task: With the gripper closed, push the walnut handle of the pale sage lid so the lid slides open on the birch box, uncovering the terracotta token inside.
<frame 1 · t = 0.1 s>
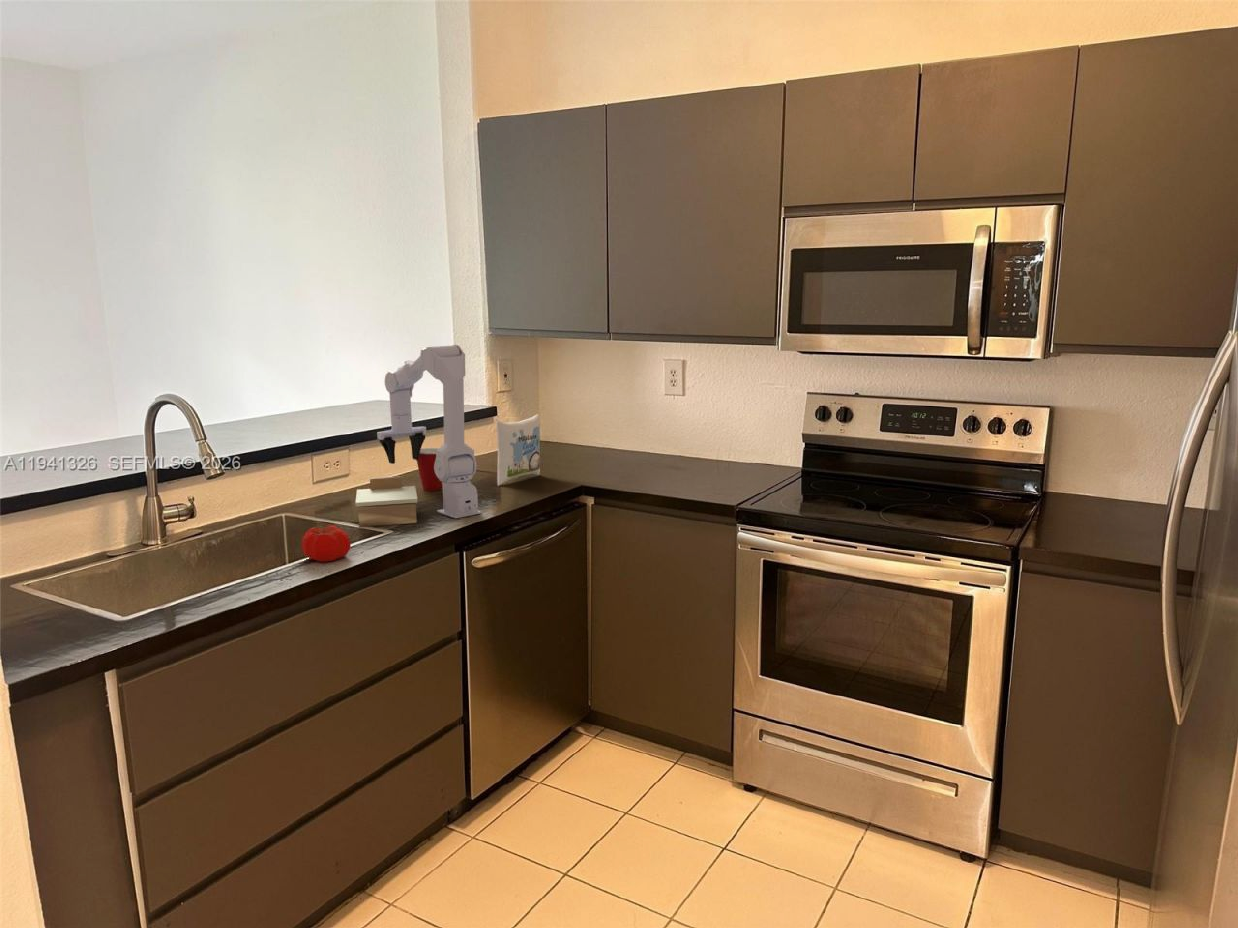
hand: (403, 461, 246), 10 cm above the worktop, tool pointing down, fingers open, 7 cm apart
lid: (386, 490, 222), point 7 cm above the worktop, slide at 0.0 cm
tomato: (326, 558, 191), on the worktop
pouch: (520, 481, 266), on the worktop
plastic cup: (433, 489, 257), on the worktop
storage box: (387, 517, 224), on the worktop
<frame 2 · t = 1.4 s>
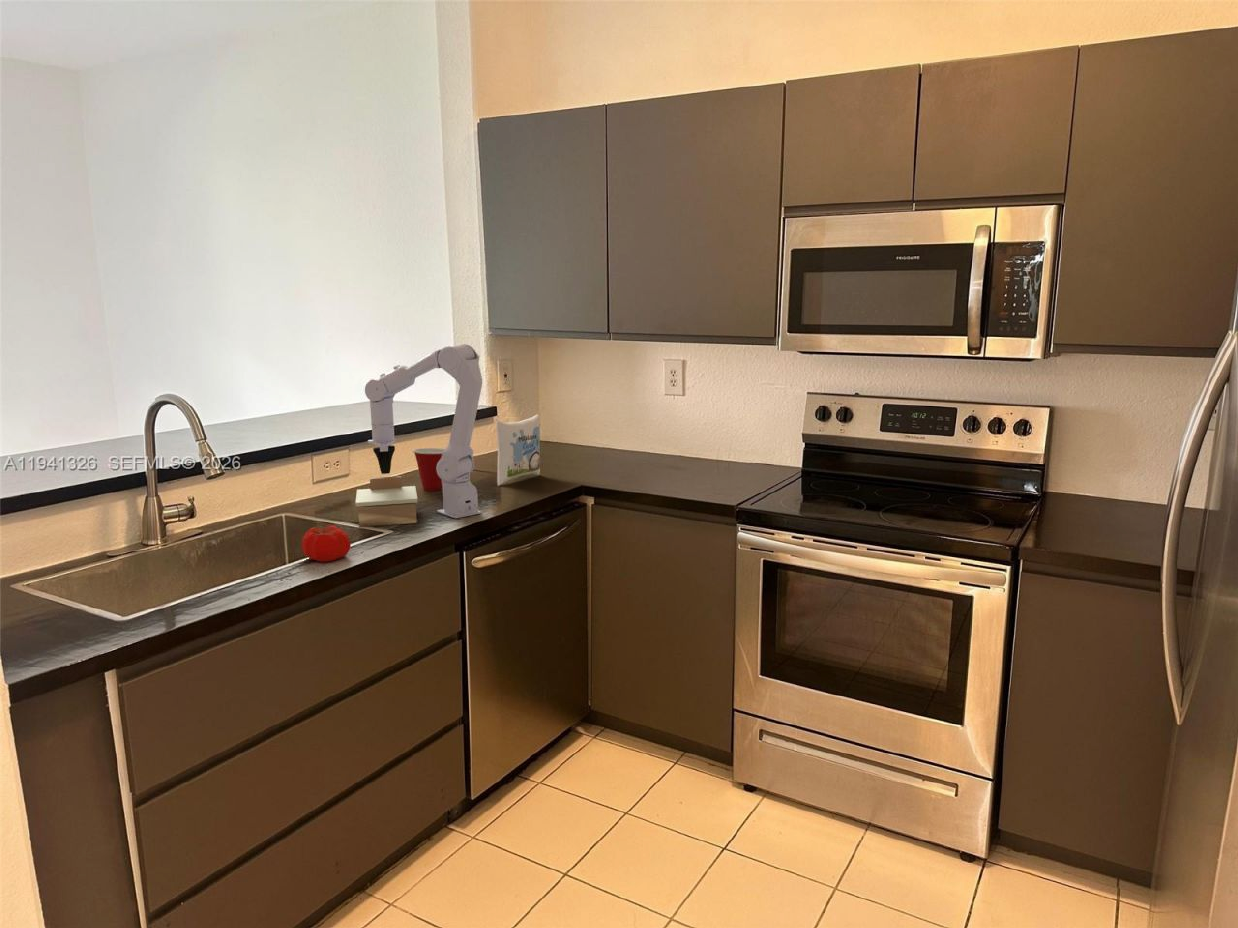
hand: (385, 473, 233), 9 cm above the worktop, tool pointing down, fingers closed
nothing on the worktop moved.
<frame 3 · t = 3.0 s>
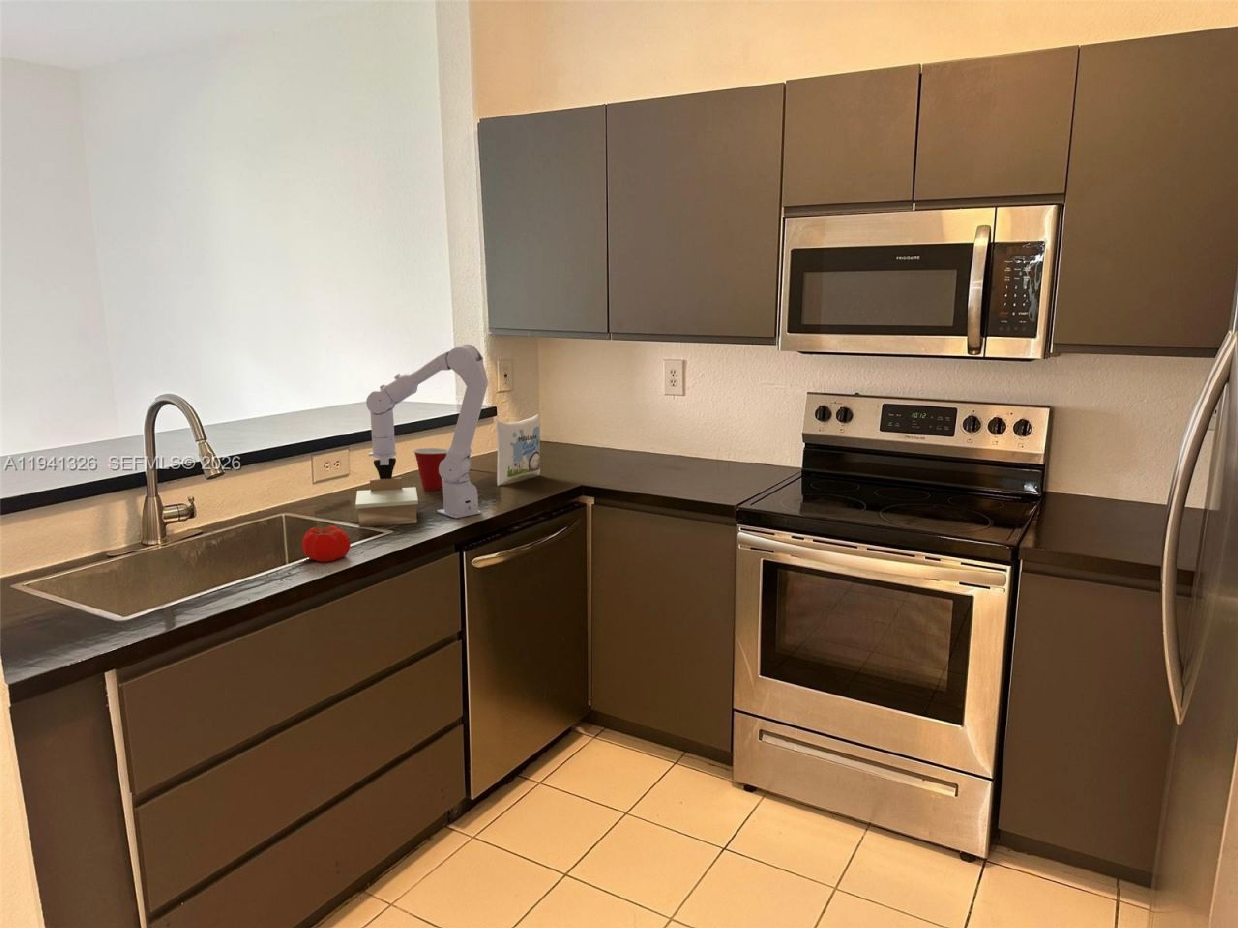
hand: (386, 486, 229), 7 cm above the worktop, tool pointing down, fingers closed
lid: (386, 491, 220), point 7 cm above the worktop, slide at 1.8 cm, touching gripper
everything else where it was.
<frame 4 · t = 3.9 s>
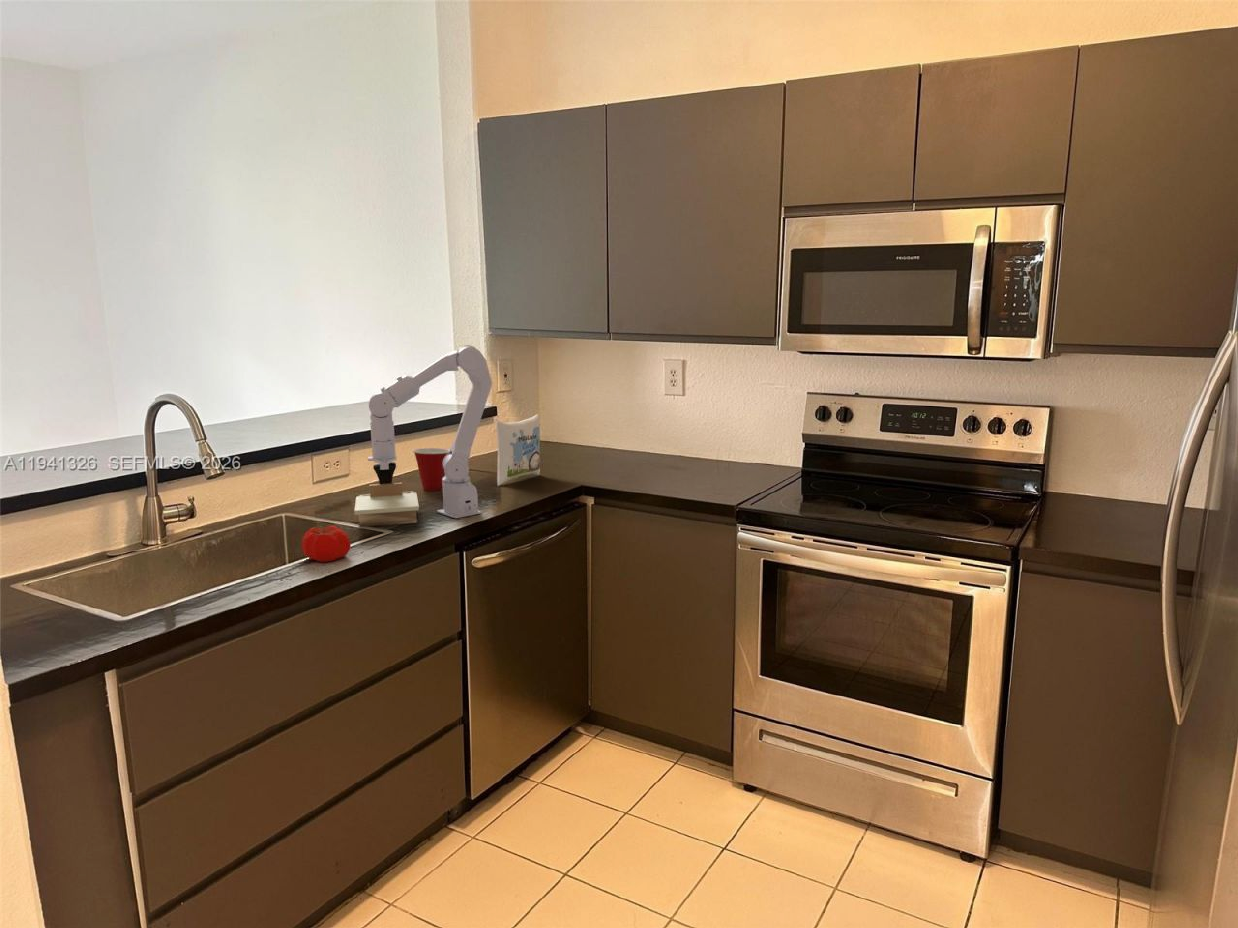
hand: (386, 491, 222), 7 cm above the worktop, tool pointing down, fingers closed
lid: (386, 497, 214), point 7 cm above the worktop, slide at 8.2 cm, touching gripper
everything else where it was.
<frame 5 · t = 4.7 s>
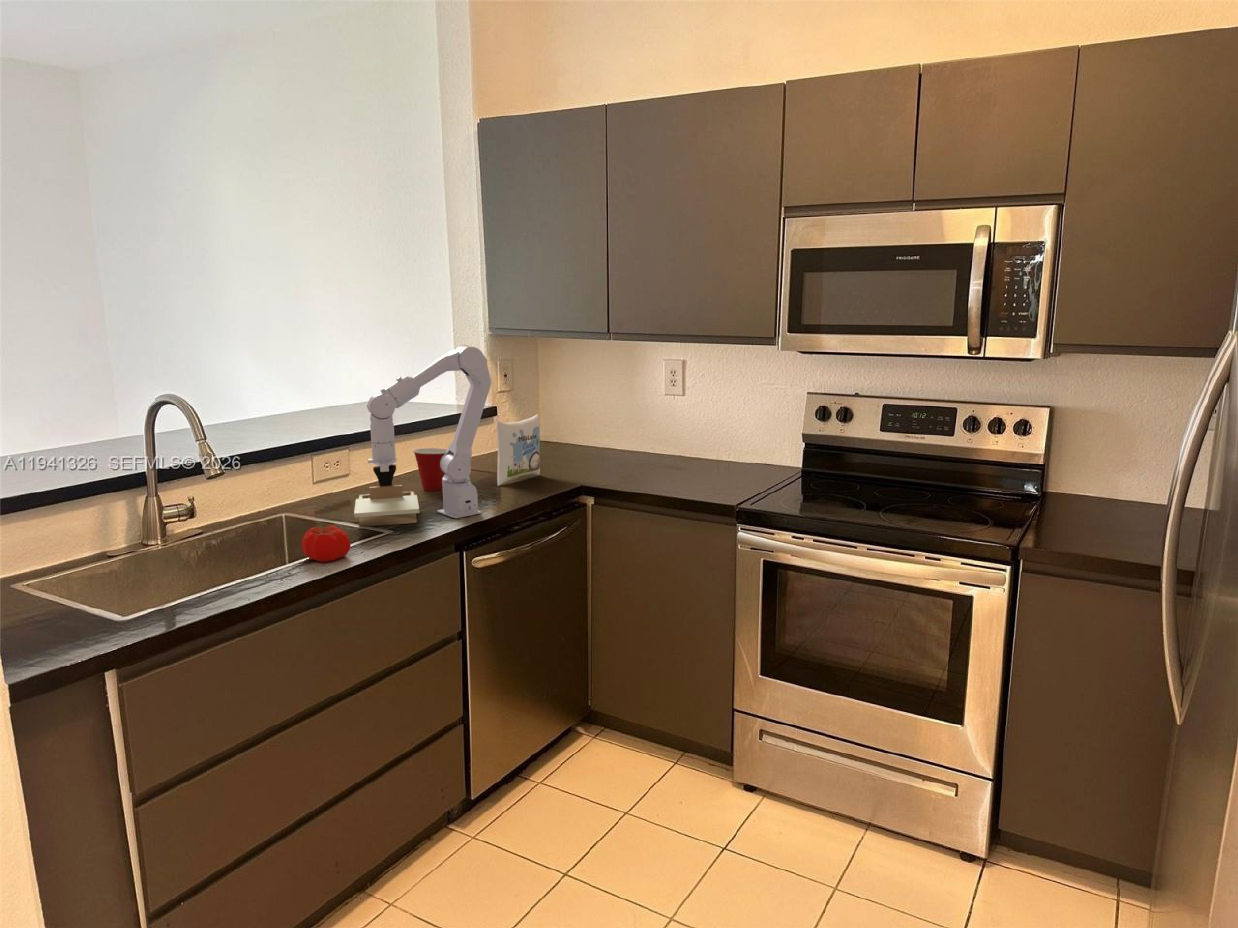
hand: (386, 494, 220), 7 cm above the worktop, tool pointing down, fingers closed
lid: (386, 499, 212), point 7 cm above the worktop, slide at 10.9 cm, touching gripper
everything else where it was.
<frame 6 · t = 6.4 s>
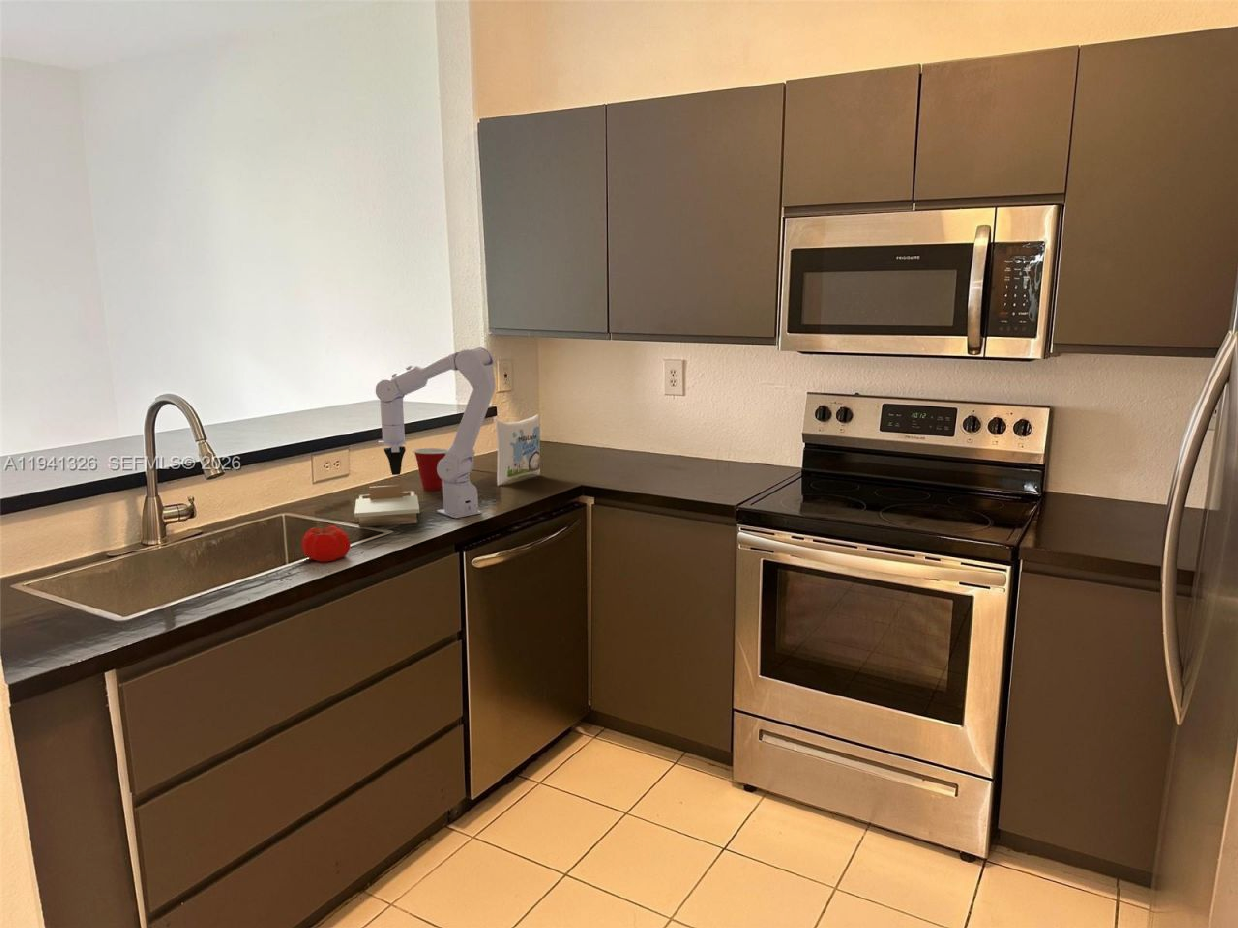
hand: (396, 474, 231), 10 cm above the worktop, tool pointing down, fingers closed
lid: (386, 499, 212), point 7 cm above the worktop, slide at 10.9 cm
everything else where it was.
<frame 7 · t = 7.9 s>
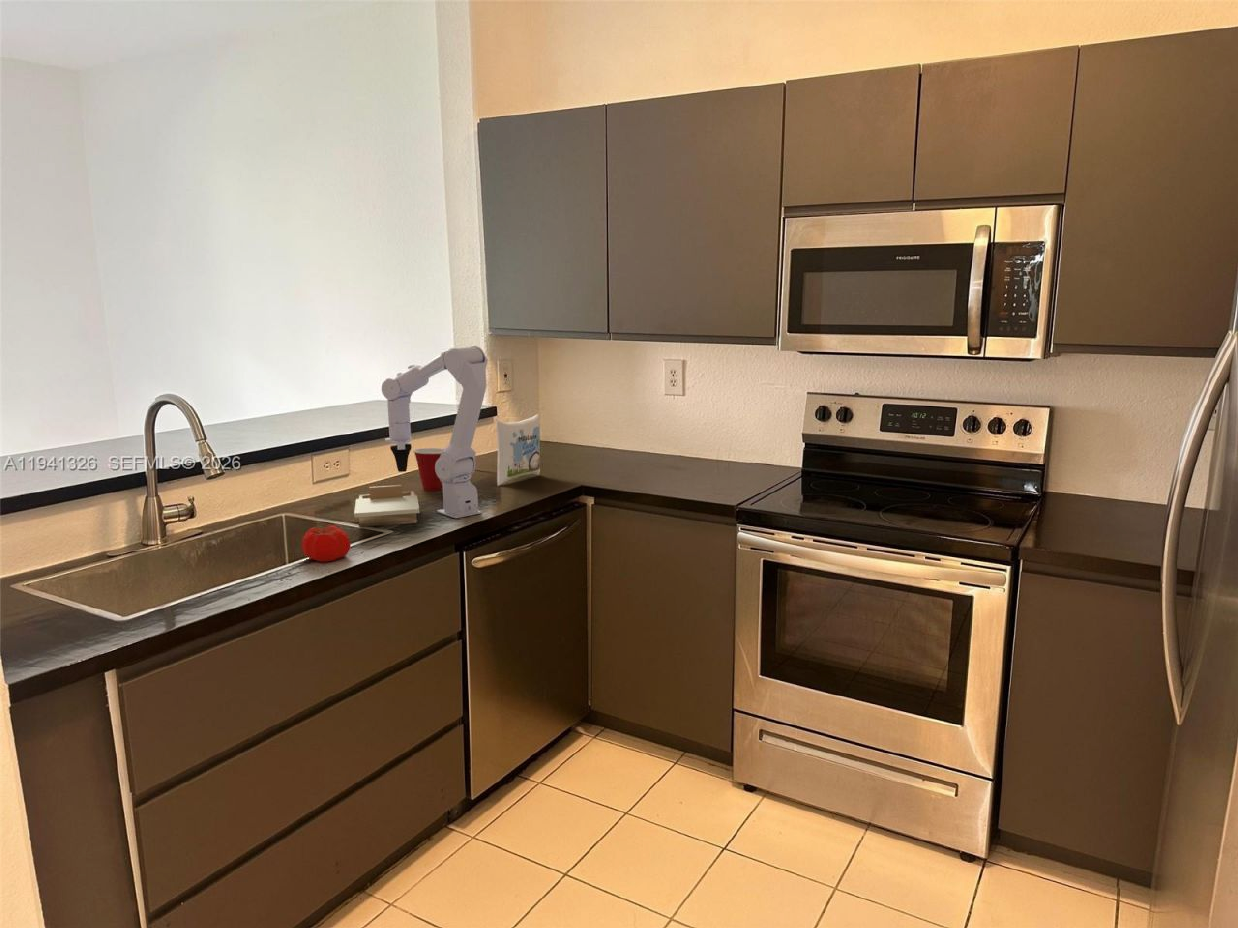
hand: (402, 471, 236), 9 cm above the worktop, tool pointing down, fingers closed
nothing on the worktop moved.
at the end: lid slide at 10.9 cm; plastic cup moved 0.2 cm from its start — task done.
